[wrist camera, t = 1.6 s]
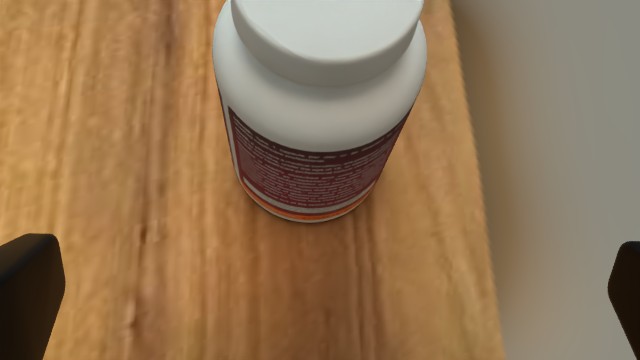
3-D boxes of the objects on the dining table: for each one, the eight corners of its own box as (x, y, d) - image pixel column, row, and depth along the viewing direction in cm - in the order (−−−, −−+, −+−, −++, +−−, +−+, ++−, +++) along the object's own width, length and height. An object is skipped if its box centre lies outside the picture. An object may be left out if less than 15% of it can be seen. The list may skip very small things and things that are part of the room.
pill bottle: (409, 182, 24) (512, 26, 13) (277, 254, 22) (278, 142, 12) (333, 66, 25) (372, -155, 15) (206, 125, 24) (151, -72, 13)
